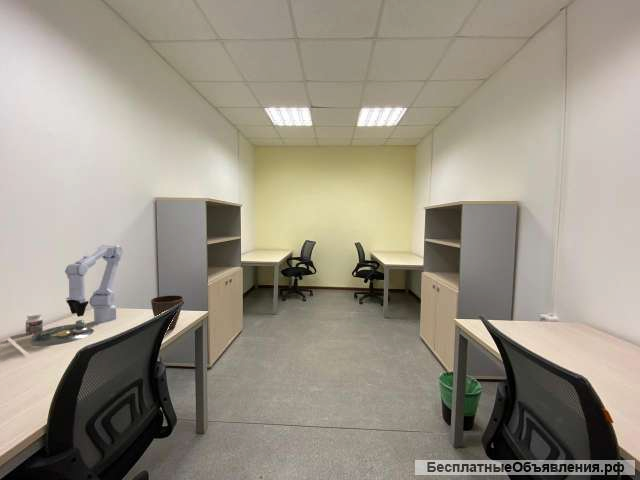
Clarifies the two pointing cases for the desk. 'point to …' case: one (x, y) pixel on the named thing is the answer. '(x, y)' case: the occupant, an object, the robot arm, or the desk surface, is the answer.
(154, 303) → the plant pot
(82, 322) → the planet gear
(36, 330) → the pill bottle
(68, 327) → the dark grey round tray
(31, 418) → the desk surface
